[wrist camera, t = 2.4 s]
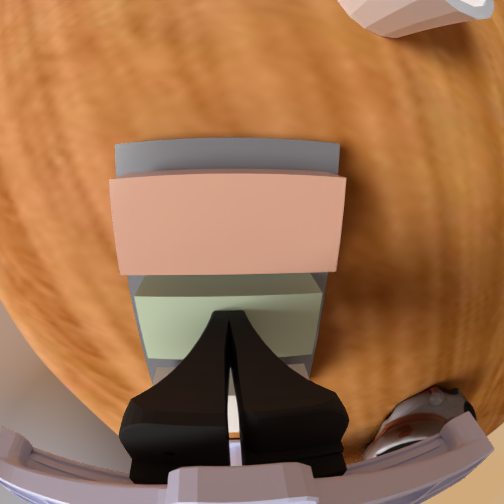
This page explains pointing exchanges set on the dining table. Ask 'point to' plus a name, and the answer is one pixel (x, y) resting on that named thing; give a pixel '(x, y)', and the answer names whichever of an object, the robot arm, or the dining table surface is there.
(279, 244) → the terracotta button
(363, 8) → the shot glass
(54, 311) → the dining table surface
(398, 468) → the robot arm
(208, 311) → the sage button
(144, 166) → the button panel
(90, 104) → the dining table surface
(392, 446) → the lucky cat figurine
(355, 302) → the dining table surface
